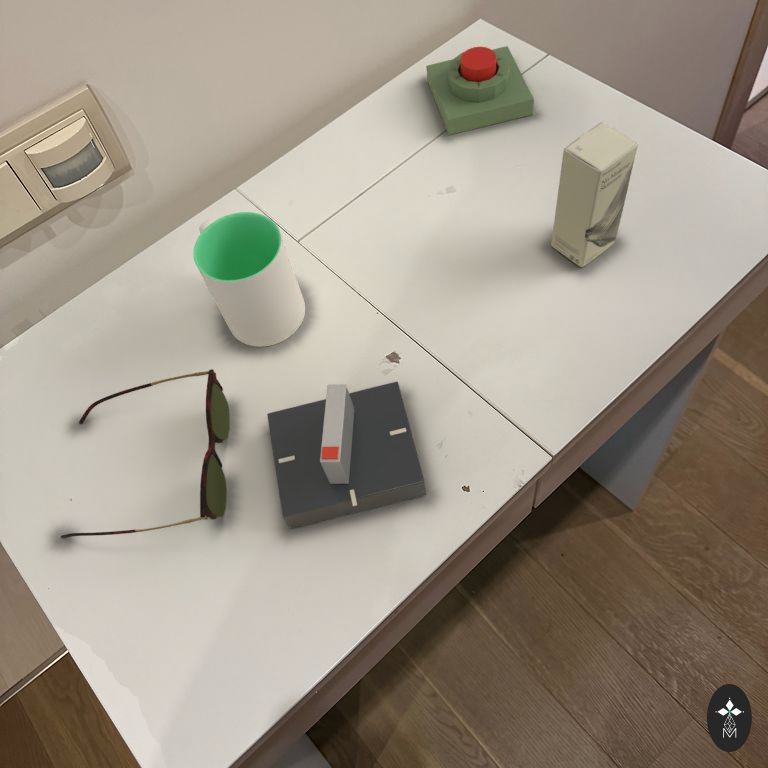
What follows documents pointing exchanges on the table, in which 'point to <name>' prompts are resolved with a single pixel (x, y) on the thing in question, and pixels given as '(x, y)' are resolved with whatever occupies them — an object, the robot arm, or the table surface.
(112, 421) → the table surface
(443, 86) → the button box
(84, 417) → the sunglasses
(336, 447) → the long grey beam
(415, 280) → the table surface
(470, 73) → the button
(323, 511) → the plate
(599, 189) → the box
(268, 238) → the mug
